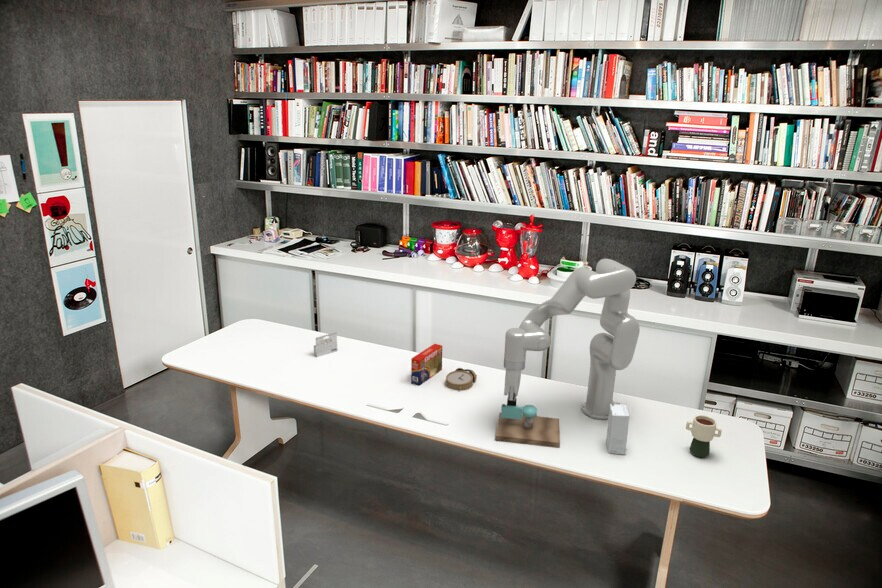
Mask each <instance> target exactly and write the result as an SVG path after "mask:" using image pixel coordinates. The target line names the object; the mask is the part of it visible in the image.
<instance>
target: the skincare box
mask: <svg viewBox="0 0 882 588" xmlns="http://www.w3.org/2000/svg"><path fill="white" fill-rule="evenodd" d="M629 423H630V413H629V410H628V406H627V405H626V404H620V405H616V404H610V407H609V417H608V419H607V429H606V439H605V440H606V445H607V446H606V448H607V451H608V454H615V455H616V454H617V455H623V456H624V455H626V452H627V445H628V444H627V443H628V442H627V441H628V432H629Z"/></svg>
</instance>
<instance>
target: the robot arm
mask: <svg viewBox="0 0 882 588" xmlns="http://www.w3.org/2000/svg"><path fill="white" fill-rule="evenodd" d="M636 282H637V275H636V273H635V272H634V270H633V269H632V268H630V267H628V266H626V265H624V264H621V262H618V261H616V260H613V259H612V258H611V259H610V258H602V259H600V260H599V261H598V262H597V263H596V267H595V271H593V269H589V268H587V267H582V266H580V267H577V268H575V269H574V270H573V271H572V272H571V273H570V275H569V276H568V277H567V278H566V280H565V281H564V282H563V283H562V285H560V287H559V289H558V290H557V291H556V292H555V293H554V295H552V297H551V298H550V299H548V300H546V301H544V302H542V303H540V304H538V305H537V306H535V307H534V308H532V309H531V310H530V311H529V313H528V314H527V315H526V316H525V317H524V319H523V320H522V322H521V323H520V324H519V327H511V328H509V329H507V330H506V332H505V335H504V336H505V337H504V339H505V340H504V356H503V357H504V358H503V368H504V369H505V378H504V386H503V387H504V390H503V396H504V397H505V396H507V400H506V405H509V406H517V397H518V395H519V390H520V385H521V379H522V377H521V376H522V371H524V370H525V369H526V361H527V360H526V359H527V351H529V352H530V351H531V352H542V351H545V350H547V349H549V348H550V346H551V344H552V338H551V336H550V335H549V333H548V332H547V331H546V330H544V328H542V326H543V324H544V323H545V322H546V321H548V320H549V319H550V318H553V317H557V316H562V315H563V316H565V315H570V314H572V313H573V311H574V310H575V309H576V308H577V306H578V305H579V304H580V303H581V302H582V301H583V299H584V298H585V297H588V298H590V299H604V300H603V301H604V302H603V304H602V305H603V306H602V310H601V314H600V318H599V326H600V327H601V328H602V330H604V331H605V332H600V333H597V334H595V335H593V337H592V338H591V340H590V343H589V357H590V359H589V361H590V363H589V375H588V383H587V384H588V385H587V389H586V390H587V393H586V400H585V401H584V402H583V403H582V404H581V409H580V410H581V411H582V413H583V414H584V415H585V416H588V417H589V418H593V419H597V420H608V417H609V407H610V404H616V405H621V403H620V402H614V401H613V398H614V389H615V381H616V376H617V371H622V370H625V369H626V368H628V367H629V366H630V364H631V363H632V361H633V358H634V355H635V351H636V347H637V344H638V340H639V336H640V323H639V321H638V320H637V319H636V317H634V316H633V315H631V314H629V313H628V310H629V309H628V308H629V304H630V298H631V289H632V288H633V287H634V286H635V284H636Z"/></svg>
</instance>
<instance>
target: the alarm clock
mask: <svg viewBox="0 0 882 588" xmlns="http://www.w3.org/2000/svg"><path fill="white" fill-rule="evenodd" d="M477 376H478V375H477V374H476V372H475V371H474V370H472V369H468V368H467V369H465V368H462V367H457V368H456V369H455V370H454V371H451V372H448V373H447V375H446V377H445V380H446V381H445V382H446V383H444V385H445V386H446V387H447V388H449V389H451V390H453V391H462V392H463V391H467V390H470V389H471V388H472V387H473V385H474V382H476V381H477Z"/></svg>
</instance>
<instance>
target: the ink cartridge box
mask: <svg viewBox="0 0 882 588" xmlns="http://www.w3.org/2000/svg"><path fill="white" fill-rule="evenodd" d="M337 336H338V335H337V331H335V332H332V333H329V334H326V335H320V336H318V337H315V344H314V345H313V354H314V357H316V358H318V357H322V356H325V355H329V354H334V353H336V352H338V351H339V350H338V341H337V340H338V339H337V338H338V337H337ZM326 337H328V338H326Z"/></svg>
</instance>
